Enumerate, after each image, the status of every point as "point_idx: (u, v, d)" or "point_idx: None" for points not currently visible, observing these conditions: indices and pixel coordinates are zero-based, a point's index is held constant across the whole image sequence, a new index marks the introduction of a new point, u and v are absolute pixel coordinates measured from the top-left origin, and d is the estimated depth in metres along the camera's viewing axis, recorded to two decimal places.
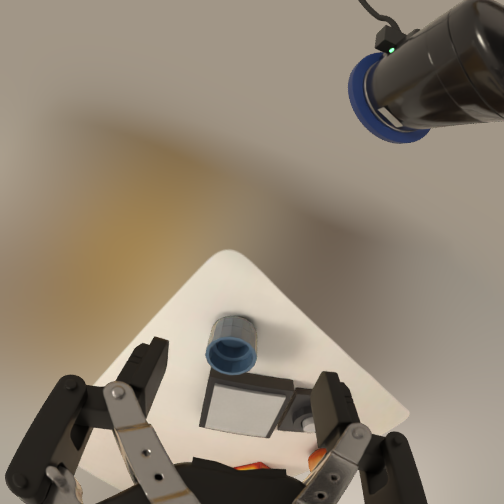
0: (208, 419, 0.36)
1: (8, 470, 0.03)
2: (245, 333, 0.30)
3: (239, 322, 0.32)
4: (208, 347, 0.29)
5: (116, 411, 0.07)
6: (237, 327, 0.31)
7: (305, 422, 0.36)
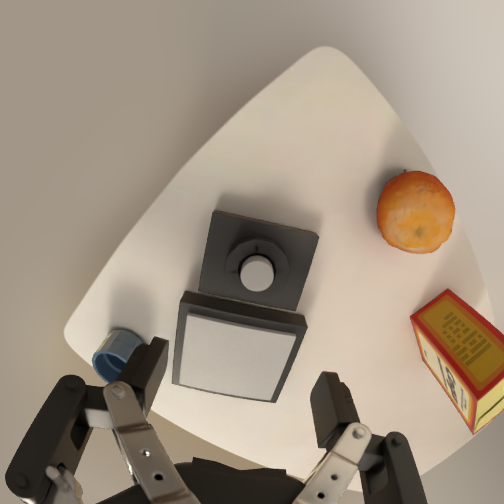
0: (248, 396, 0.29)
1: (8, 470, 0.03)
2: None
3: None
4: None
5: (116, 411, 0.07)
6: None
7: None
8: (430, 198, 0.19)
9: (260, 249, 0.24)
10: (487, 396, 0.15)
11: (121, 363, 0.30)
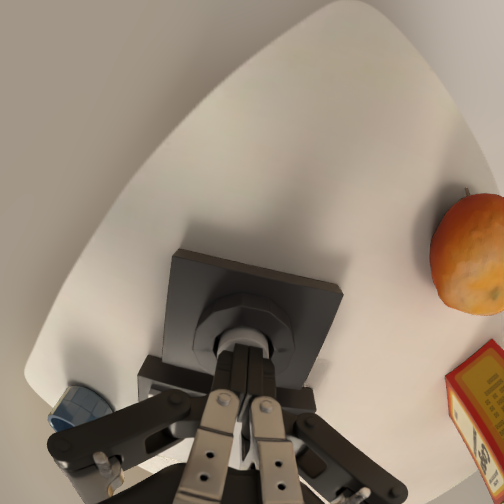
0: None
1: (58, 433, 0.05)
2: None
3: None
4: None
5: (228, 418, 0.09)
6: None
7: None
8: None
9: (248, 320, 0.14)
10: None
11: None
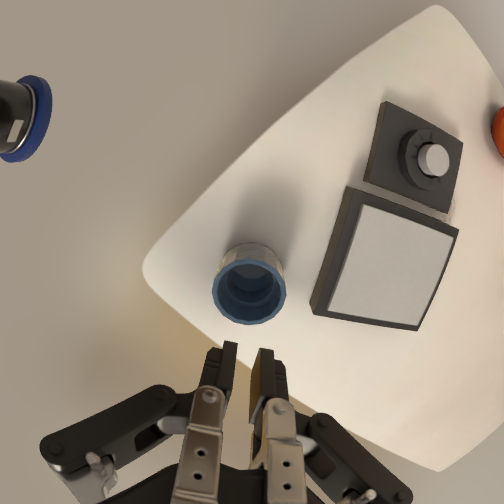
0: (400, 321, 0.25)
1: (49, 435, 0.05)
2: (220, 267, 0.23)
3: None
4: (233, 320, 0.22)
5: (213, 415, 0.09)
6: None
7: (426, 170, 0.20)
8: None
9: (433, 138, 0.19)
10: None
11: (239, 295, 0.26)
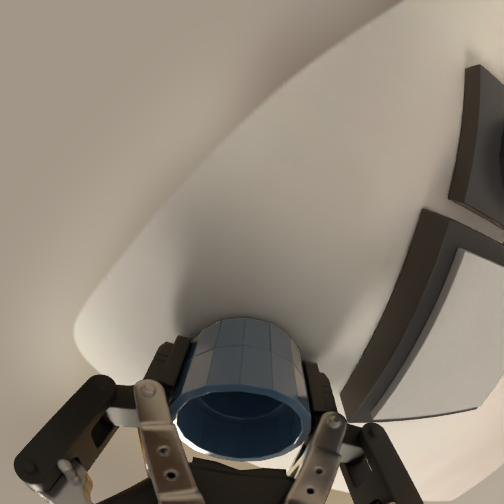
0: (464, 408, 0.12)
1: (19, 456, 0.04)
2: (181, 377, 0.10)
3: None
4: (213, 455, 0.10)
5: (148, 409, 0.08)
6: None
7: None
8: None
9: None
10: None
11: (225, 399, 0.13)
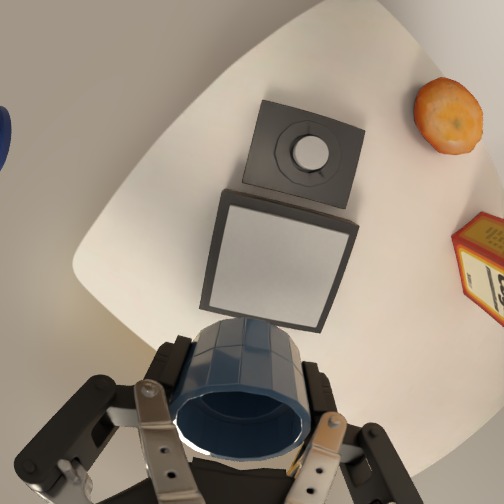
0: (292, 321, 0.27)
1: (19, 455, 0.04)
2: (181, 377, 0.10)
3: None
4: (213, 455, 0.10)
5: (148, 409, 0.08)
6: None
7: (300, 165, 0.22)
8: (460, 94, 0.16)
9: (312, 130, 0.21)
10: None
11: (224, 399, 0.13)
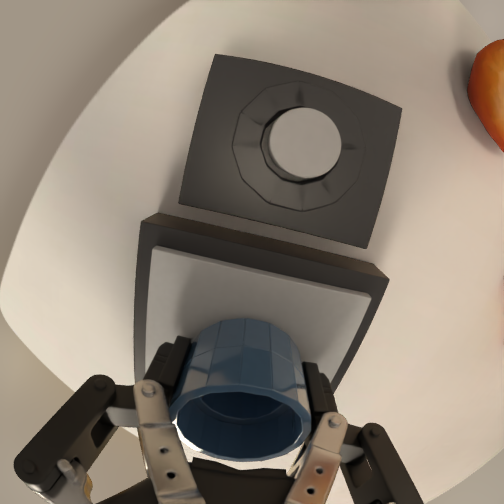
0: None
1: (18, 455, 0.04)
2: (181, 378, 0.10)
3: None
4: (213, 456, 0.10)
5: (148, 409, 0.08)
6: None
7: (283, 169, 0.11)
8: None
9: (308, 99, 0.10)
10: None
11: (225, 399, 0.13)
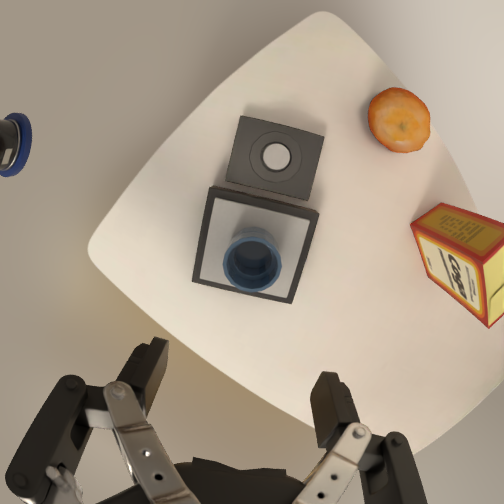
0: (266, 292, 0.34)
1: (8, 470, 0.03)
2: (228, 245, 0.28)
3: None
4: (239, 288, 0.28)
5: (116, 411, 0.07)
6: None
7: (268, 166, 0.29)
8: (406, 100, 0.23)
9: (278, 139, 0.28)
10: (492, 265, 0.19)
11: (244, 270, 0.31)
